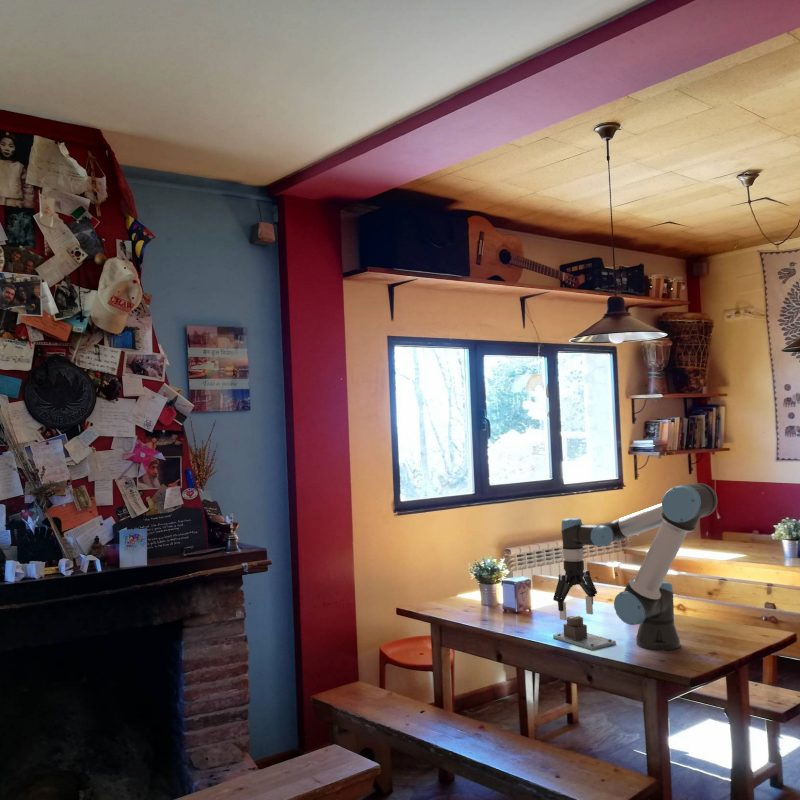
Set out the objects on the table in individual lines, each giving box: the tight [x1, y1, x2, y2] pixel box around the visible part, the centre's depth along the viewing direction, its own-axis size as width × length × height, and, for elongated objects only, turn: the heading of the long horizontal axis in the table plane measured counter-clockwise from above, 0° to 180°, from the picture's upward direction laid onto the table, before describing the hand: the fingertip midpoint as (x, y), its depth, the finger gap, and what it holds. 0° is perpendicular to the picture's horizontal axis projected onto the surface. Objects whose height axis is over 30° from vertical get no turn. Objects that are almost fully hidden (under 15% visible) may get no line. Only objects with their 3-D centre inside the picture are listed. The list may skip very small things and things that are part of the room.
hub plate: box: [552, 632, 617, 651], centre depth 294 cm, size 20×12×5 cm, turn 32°
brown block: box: [563, 615, 588, 639], centre depth 297 cm, size 6×6×7 cm
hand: (576, 616), depth 297 cm, fingers open, 13 cm apart
